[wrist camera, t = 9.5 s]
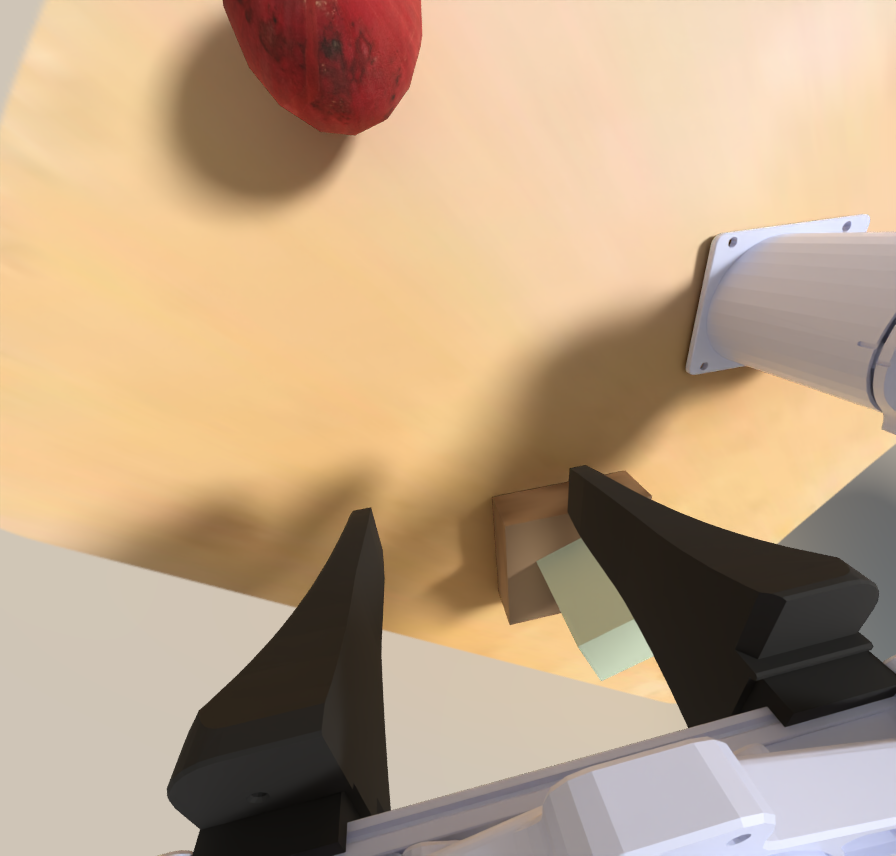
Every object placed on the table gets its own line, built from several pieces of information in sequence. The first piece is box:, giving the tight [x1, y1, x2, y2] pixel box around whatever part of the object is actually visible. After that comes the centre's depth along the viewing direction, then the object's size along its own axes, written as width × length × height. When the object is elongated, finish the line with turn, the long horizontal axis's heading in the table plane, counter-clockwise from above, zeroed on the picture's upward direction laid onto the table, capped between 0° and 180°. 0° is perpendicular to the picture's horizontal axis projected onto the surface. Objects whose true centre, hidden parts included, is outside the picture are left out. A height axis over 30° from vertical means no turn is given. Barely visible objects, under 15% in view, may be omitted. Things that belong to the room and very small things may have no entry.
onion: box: [223, 0, 422, 135], centre depth 11 cm, size 6×6×8 cm
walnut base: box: [492, 471, 652, 625], centre depth 27 cm, size 10×10×3 cm
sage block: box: [536, 538, 654, 681], centre depth 23 cm, size 4×4×6 cm
